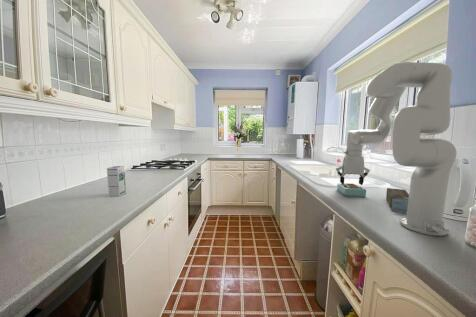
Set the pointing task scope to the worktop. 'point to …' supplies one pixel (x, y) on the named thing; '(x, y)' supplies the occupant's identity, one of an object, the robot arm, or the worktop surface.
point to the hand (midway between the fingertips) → (351, 184)
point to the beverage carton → (397, 199)
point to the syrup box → (116, 181)
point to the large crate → (351, 191)
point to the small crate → (351, 186)
